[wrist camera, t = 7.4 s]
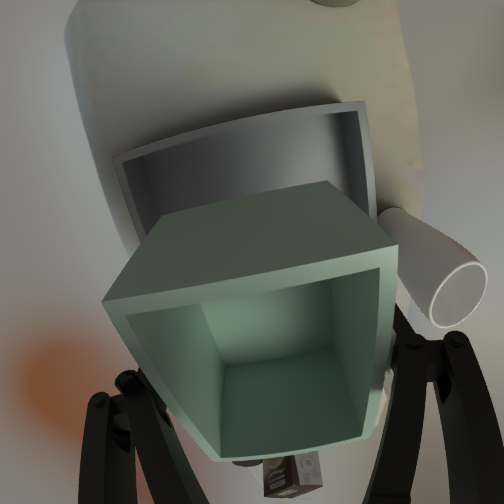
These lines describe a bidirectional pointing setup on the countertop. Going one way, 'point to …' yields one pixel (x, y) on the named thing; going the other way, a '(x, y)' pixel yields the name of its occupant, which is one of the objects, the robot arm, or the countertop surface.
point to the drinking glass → (435, 269)
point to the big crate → (250, 161)
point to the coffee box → (291, 475)
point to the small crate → (263, 320)
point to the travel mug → (336, 2)
